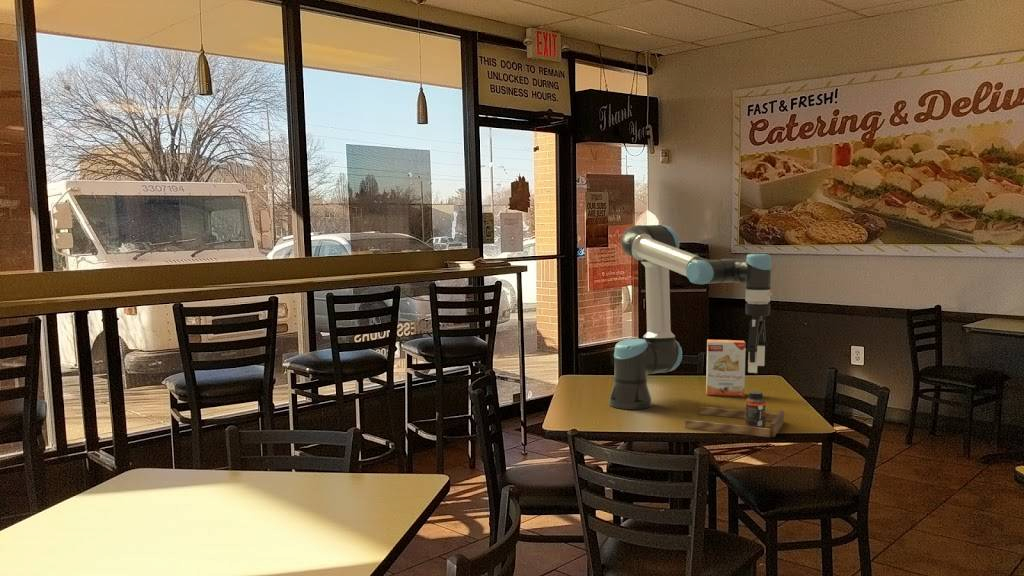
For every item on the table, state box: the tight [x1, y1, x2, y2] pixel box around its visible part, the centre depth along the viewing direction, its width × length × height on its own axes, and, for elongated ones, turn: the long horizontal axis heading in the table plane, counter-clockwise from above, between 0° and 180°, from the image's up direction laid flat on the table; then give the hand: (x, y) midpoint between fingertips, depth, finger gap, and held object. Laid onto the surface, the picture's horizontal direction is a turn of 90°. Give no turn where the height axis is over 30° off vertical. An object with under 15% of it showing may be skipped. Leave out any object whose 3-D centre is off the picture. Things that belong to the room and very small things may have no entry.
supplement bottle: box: [745, 390, 766, 428], centre depth 252 cm, size 6×6×11 cm
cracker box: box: [705, 339, 747, 397], centre depth 301 cm, size 14×6×21 cm, turn 80°
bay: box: [684, 405, 785, 438], centre depth 255 cm, size 27×22×4 cm
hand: (756, 369), depth 252 cm, fingers open, 13 cm apart
